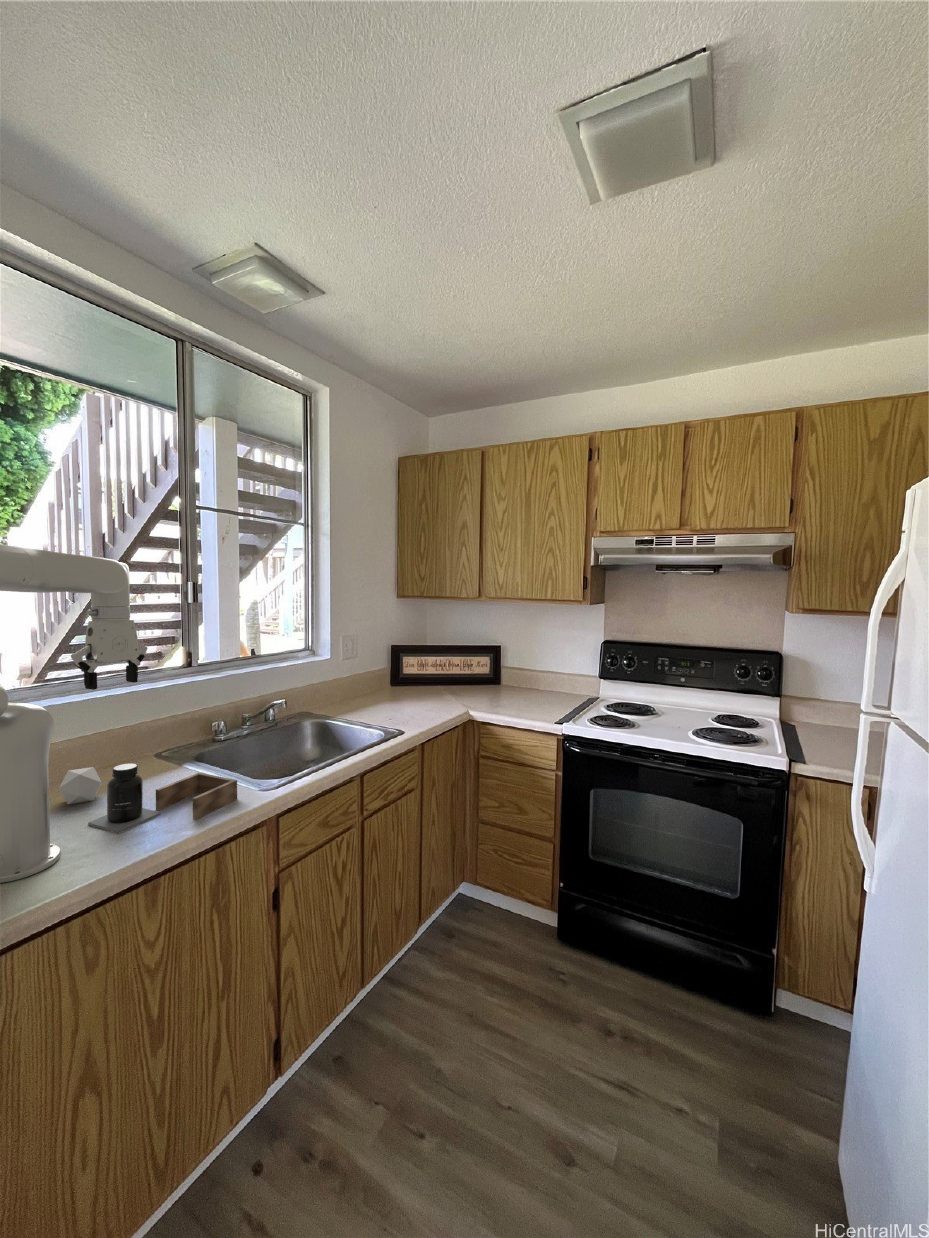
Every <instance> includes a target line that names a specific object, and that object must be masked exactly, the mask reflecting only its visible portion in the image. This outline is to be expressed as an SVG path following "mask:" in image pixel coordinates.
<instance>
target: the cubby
mask: <svg viewBox="0 0 929 1238" xmlns="http://www.w3.org/2000/svg"><path fill="white" fill-rule="evenodd" d="M197 794H198V795H197ZM195 795H196V796H195ZM193 796H194V797H193ZM190 797H192V820H198V819H200V818H202V817H204V816H207V815H209V814H211V812H214V811H216V810H218V809H220V808H223V807H224V806H227V805H228V804H231V803H232V802H235V801H236V800H238V780H237V779H233V778H229V777H223V776H218V775H214V774H208V773H203V772H197V773H194V774H191V775H189V776H187V777H184V778H180V779H179V780H177V781H174V782H171V783H169V784H166V785H164V786H161V787H159V788H155V811H161V810H163V809H166V808H168V807H170V806H172V805H175V804H177V803H179V802H181V801H184V800H185V799H188V798H190Z"/></svg>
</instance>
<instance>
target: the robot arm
mask: <svg viewBox="0 0 929 1238" xmlns="http://www.w3.org/2000/svg"><path fill="white" fill-rule="evenodd" d="M0 592H16V593H19V592H20V593H37V594H38V593H43V594H46V593H48V594H49V593H73V594H90V609H87V610H85V611H86V612H85V614H86V616H88V617H89V616H90V618H91V620H90V619H89V620H88V623H87V628H86V631H85V632H86V633H85V638H84V639H85V641H84V647H82V648H80V649H79V650H76V651H75V652H74V653H72V654H71V655H70V658H71V660H72V661H73V663H75V667H76V668H78V669H79V670H80V671H81V672H83V684H84V688H85V689H86V690H92V691H94V690H97V689H98V674H97V673H98V672H97V671H96V669H97V668H98V667H99V666H100V664H113V663H119V662H120V663H121V662H126V664H128V665H126V666H125V681H126V682H127V683H128V682H129V683H137V682H138V681H139V679H138V677H139V666H140V665H141V663H142V661H143V660H144V659H145V655H146V653H147V652H148V647H147V646H146V645H143V644H141V643H139V639H138V633H137V632H138V631H137V627H136V624H135V620H134V619H133V618H131V606H130V604H131V602H130V600H131V599H130V596H131V595H130V594H131V593H130V568H129V565H128V564H127V563H124V562H119V561H117V560H116V559H111V558H105V557H99V556H98V557H97V556H91V555H90V556H88V555H80V554H73V553H64V552H58V551H52V550H45V549H38V548H36V549H35V548H30V547H29V548H28V547H19V546H15V545H7V544H0ZM83 657H85V660H86V661H84V660H83ZM54 731H55V721H54V718H53V716H52V714H51V712H50V711H48V710H47V709H46V708H44V707H42V706H40V705H37V704H36V705H35V704H32V703H26V702H25V703H24V702H9V696H8V693H7V691H6V689H5V688H4V687H3V686H2V685H1V684H0V884H2V883H8V882H13V881H17V880H21V879H24V878H27V877H30V876H32V875H35V874H38V873H40V872H43V871H44V870H45V869H48V868H50V867H51V866H52V865H54V864H55V863H56V862H57V861H58V860H59V859H60V857H61V854H62V853H61V848H60V846H58V845H56V844H54V843H51V824H50V823H51V822H50V818H51V816H50V784H49V783H50V782H49V778H50V777H49V759H50V749H51V745H52V741H53V735H54Z"/></svg>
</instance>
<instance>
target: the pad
mask: <svg viewBox="0 0 929 1238" xmlns="http://www.w3.org/2000/svg"><path fill="white" fill-rule="evenodd" d="M161 815H162V813H161V812H160V811H158V810H152V809H148V808H145V807H142V814H141V816H140V817H138V818H137V819H135V820H132V821H129V822H124V823H112V822H109V821H108V819H107V814H105V815H102V816H101V817H99V818H96V819H93V820H91V821H89V822H88V824H87V825H88V826H90V827H94V828H98V829H102V830H104V831H107V832H108V831H109V832H112V833H115V834H122V833H123V832H126V831H128V830H131V829H133V828H135V827H137V826H139V825H141V824H144V823H146V822H148V821H150V820H152V819H155V818H157V817H159V816H161Z"/></svg>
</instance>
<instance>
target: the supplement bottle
mask: <svg viewBox="0 0 929 1238" xmlns="http://www.w3.org/2000/svg"><path fill="white" fill-rule="evenodd" d="M138 768H139V767H138V764H136V763H131V762H130V763H122V764H118V765H116V766H114V767H113V768H112V778H111V779H110V780H109V781H108V782H107V787H106V788H107V790H106V795H107V796H106V799H107V800H106V815H107V819H108V821H109V822H112V823H124V822H129V821H132V820H135V819H137V818H138V817H140V816H141V814H142V808H143V796H144V795H143V793H144V792H143V788H144V786H143V784H144V783H143V778H142V777H141V776H140V775H138V773H139V769H138Z"/></svg>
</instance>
